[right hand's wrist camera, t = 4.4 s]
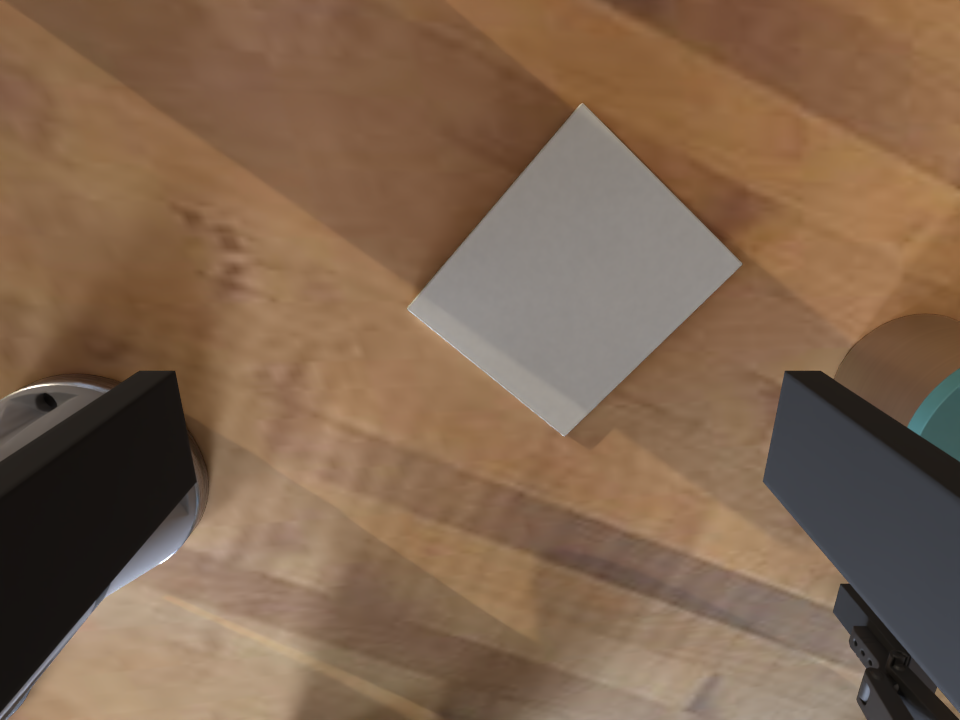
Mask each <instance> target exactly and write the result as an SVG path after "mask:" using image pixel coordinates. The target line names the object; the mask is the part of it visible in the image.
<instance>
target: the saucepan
mask: <svg viewBox="0 0 960 720" xmlns="http://www.w3.org/2000/svg"><path fill="white" fill-rule="evenodd" d="M959 368H960V321H957V320H954V319H951V318H949V317H946V316H941V315H936V314H916V315H910V316H905V317H902V318H898V319H895V320H892V321H890V322H888V323H885V324H883V325H882V326H880V327H878V328H876V329H874V330H873V331H872V332H870V333H869V334H867V335H866V336H865V337H864V338H862V339H861V340H860V341H859V342H858V343H857V344H856V345H855V346H854V347H853V348H852V349H851V350H850V352H849V353H848V354H847V356H846V357H845V358H844V360H843V361H842V363H841V365H840V367H839V369H838V371H837V373H836V375H835V378H834V380H835V381H837V382H838V383H840V384H841V385H843V386H844V387H846V388H848V389H849V390H851V391H852V392H854V393H855V394H857V395H858V396H860V397H861V398H863V399H864V400H866V401H867V402H869V403H871V404H872V405H874V406H875V407H877V408H878V409H880V410H881V411H883V412H884V413H886V414H887V415H889V416H890V417H892V418H894V419H895V420H897V421H898V422H900V423H901V424H903V425H904V426H906V427H907V426H908V424H909V422H910V420H911V419H912V417H913V415H914V413H915V412H916V410H917V409H918V407H919V406H920V405H921V403H922V402H923V401H924V399H925V398H926V397H927V396H928V395H929V394H930V393H931V392H932V391H933V389H934V388H935V387H936V386H938V385H939V384H940V383H941V382H942V381H943V380H944V379H945V378H946V377H948V376H949V375H950V374H952V373H953V372H955V371H956V370H957V369H959ZM908 667H909V668H910V669H911V670H912V671H913V672H914V673H915V674H916V675H917V676H918V678H919V679H920V680H921V681H922V682H923V683H924V684H925V685H926V686H927V687H928V688H929V689H930V690H931V691H932V692H933V693H934V694H935V691H936V689H937V686H936V685H935V683H934V682H933V681H932V680H931V679H930V677H929V676H928V675H927V674H926V673H925V672H924V670H923V669H922V668H921V667H920V666H919V665H918V663H917V662H916V661H915V660H914V659H913V657H912V656H911V659H910V662H909V665H908Z"/></svg>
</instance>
